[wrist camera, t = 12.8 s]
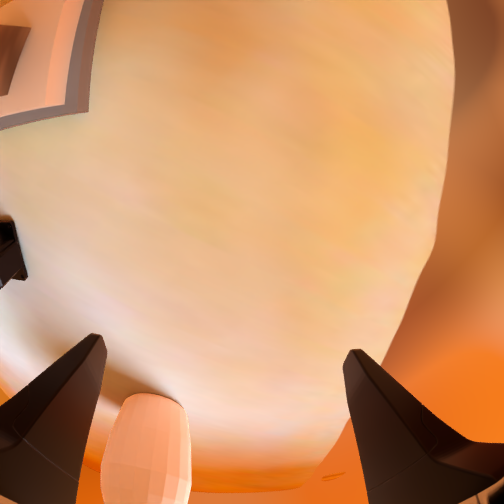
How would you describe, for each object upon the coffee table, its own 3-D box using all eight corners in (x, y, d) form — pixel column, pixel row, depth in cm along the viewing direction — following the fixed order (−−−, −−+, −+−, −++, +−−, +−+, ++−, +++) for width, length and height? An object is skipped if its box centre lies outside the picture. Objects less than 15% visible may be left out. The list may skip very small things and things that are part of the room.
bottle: (127, 420, 35) (107, 560, 12) (108, 380, 29) (70, 558, 7) (197, 429, 36) (195, 577, 13) (193, 392, 31) (186, 588, 8)
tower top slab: (-16, 121, 13) (-34, 126, 11) (1, 19, 8) (-15, 16, 6) (64, 104, 14) (44, 105, 12) (89, -15, 9) (74, -26, 7)
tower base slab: (-3, 131, 15) (-20, 136, 13) (10, 20, 10) (-5, 17, 8) (93, 111, 17) (77, 112, 14) (113, -19, 11) (101, -29, 9)
